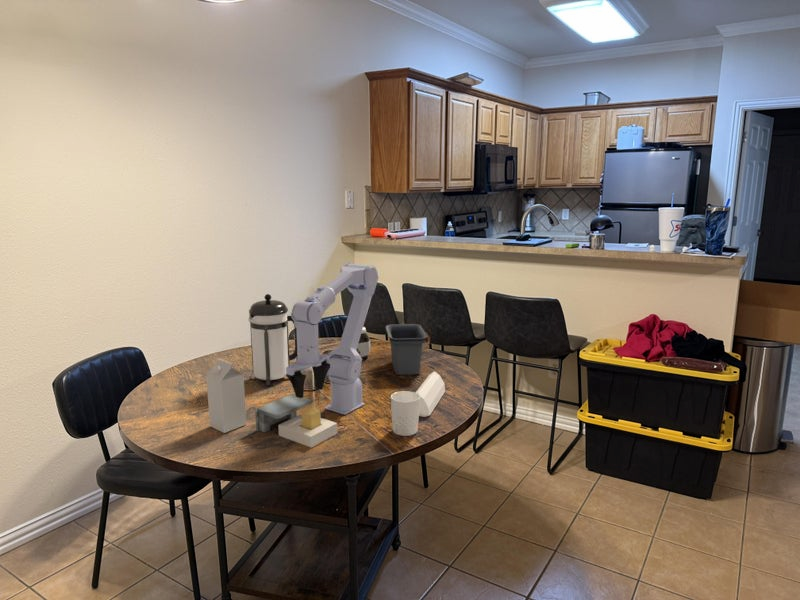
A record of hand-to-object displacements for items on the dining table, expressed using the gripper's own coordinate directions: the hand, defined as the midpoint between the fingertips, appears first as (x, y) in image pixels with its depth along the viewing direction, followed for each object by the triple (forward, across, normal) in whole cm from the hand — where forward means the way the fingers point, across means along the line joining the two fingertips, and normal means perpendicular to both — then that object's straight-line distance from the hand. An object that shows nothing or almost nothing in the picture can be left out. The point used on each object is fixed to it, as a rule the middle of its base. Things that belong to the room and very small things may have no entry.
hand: (309, 392), depth 148 cm
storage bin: (+10, +57, +6) cm, 58 cm away
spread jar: (+10, +54, +29) cm, 62 cm away
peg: (+10, -4, -4) cm, 12 cm away
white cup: (+10, +13, -23) cm, 28 cm away
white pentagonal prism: (+10, +33, -17) cm, 39 cm away
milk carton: (+10, -13, +19) cm, 25 cm away
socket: (+10, -4, -3) cm, 11 cm away
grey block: (+10, -4, +6) cm, 12 cm away
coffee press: (+10, +21, +38) cm, 45 cm away
